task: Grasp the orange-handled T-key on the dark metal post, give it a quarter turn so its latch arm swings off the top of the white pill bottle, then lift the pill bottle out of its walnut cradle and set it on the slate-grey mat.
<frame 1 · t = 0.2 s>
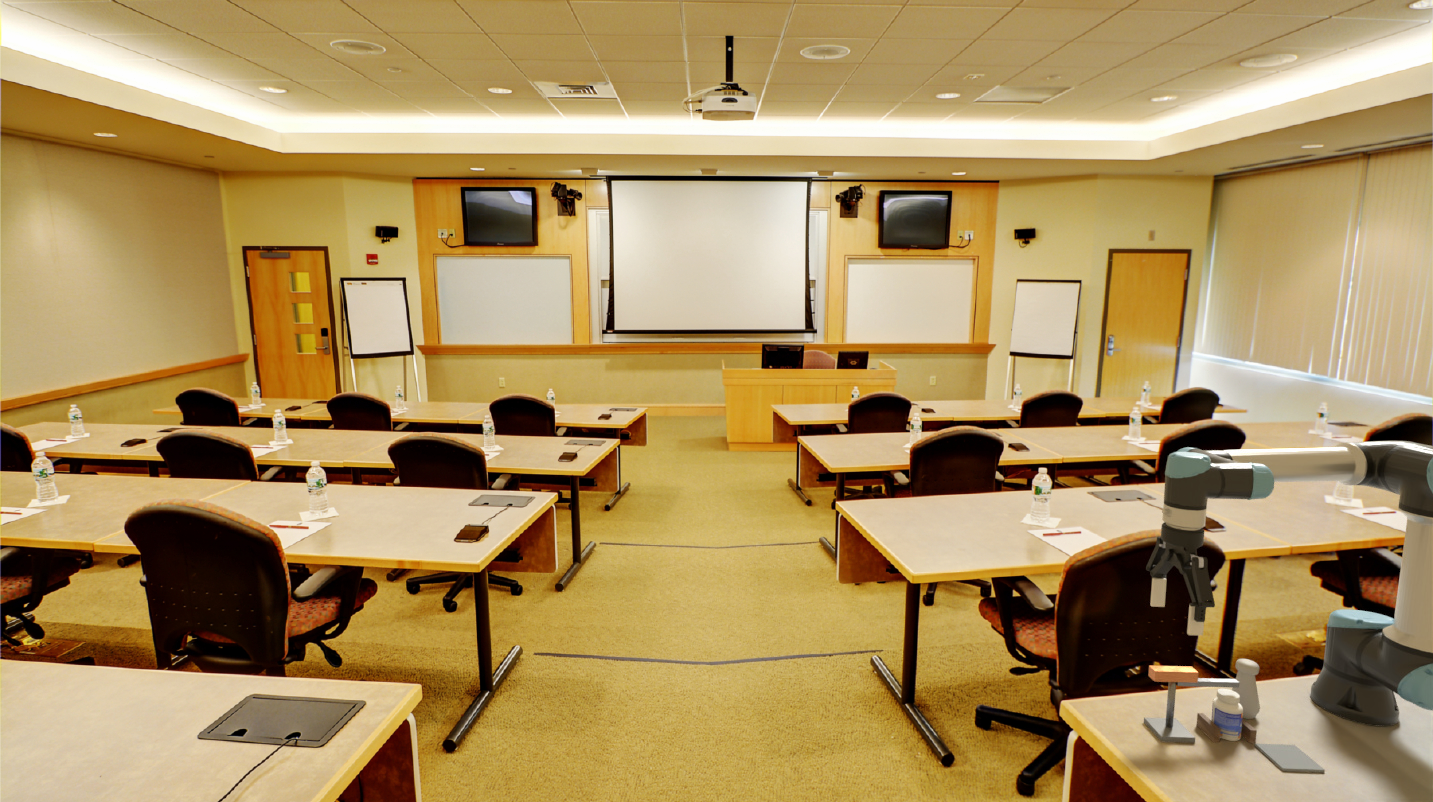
hand: (1175, 619, 146), 27 cm above the table, fingers open, 13 cm apart
pad: (1288, 758, 141), on the table
grey stand base plate: (1168, 732, 151), on the table
cradle: (1225, 733, 150), on the table
salt shaker: (1243, 714, 157), on the table
pill bottle: (1225, 734, 150), on the table
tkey: (1192, 698, 149), point 8 cm above the table, hinge at 0.0°
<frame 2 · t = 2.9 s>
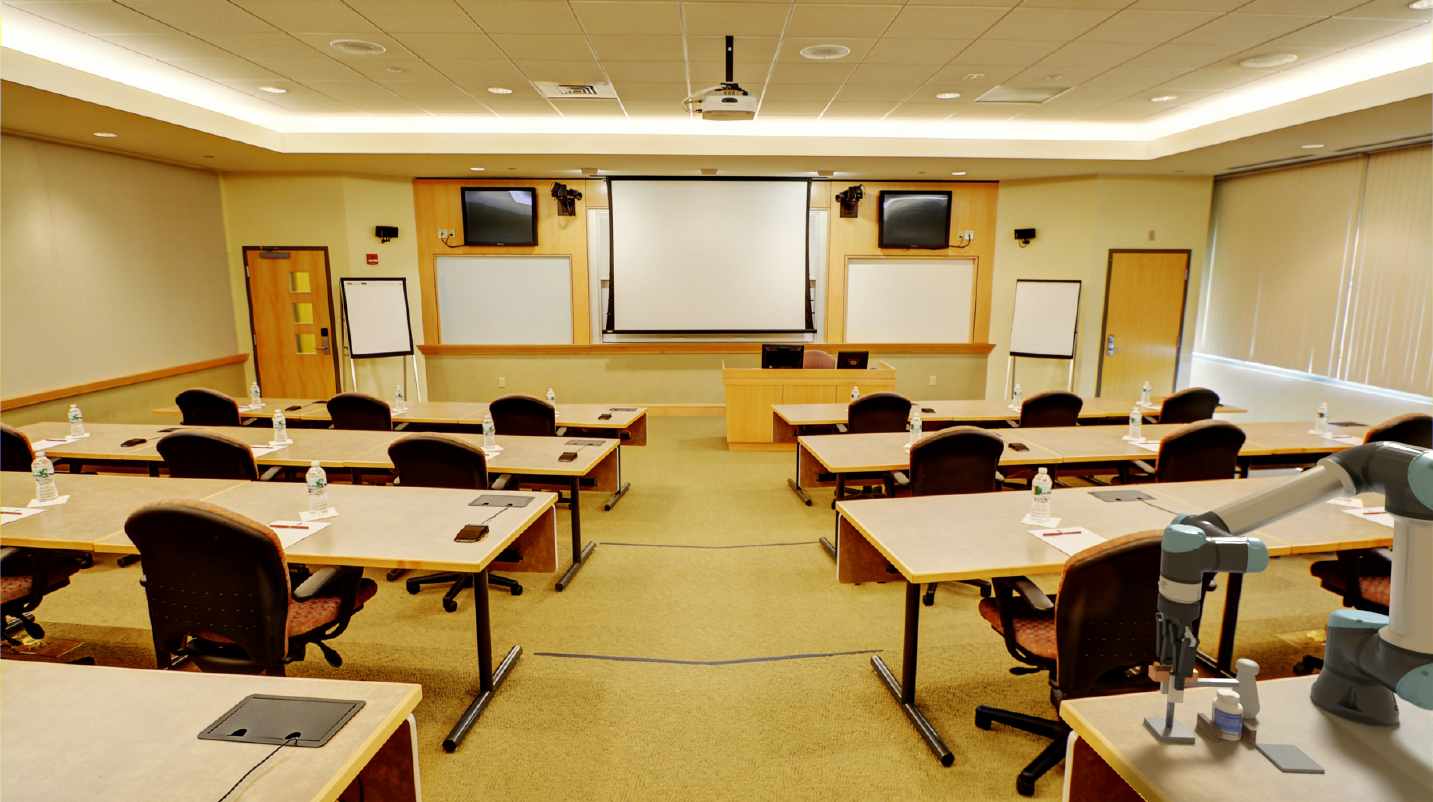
hand: (1171, 696, 150), 8 cm above the table, fingers closed on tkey, 2 cm apart
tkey: (1192, 698, 149), point 8 cm above the table, hinge at -0.1°, touching gripper
everything else where it was.
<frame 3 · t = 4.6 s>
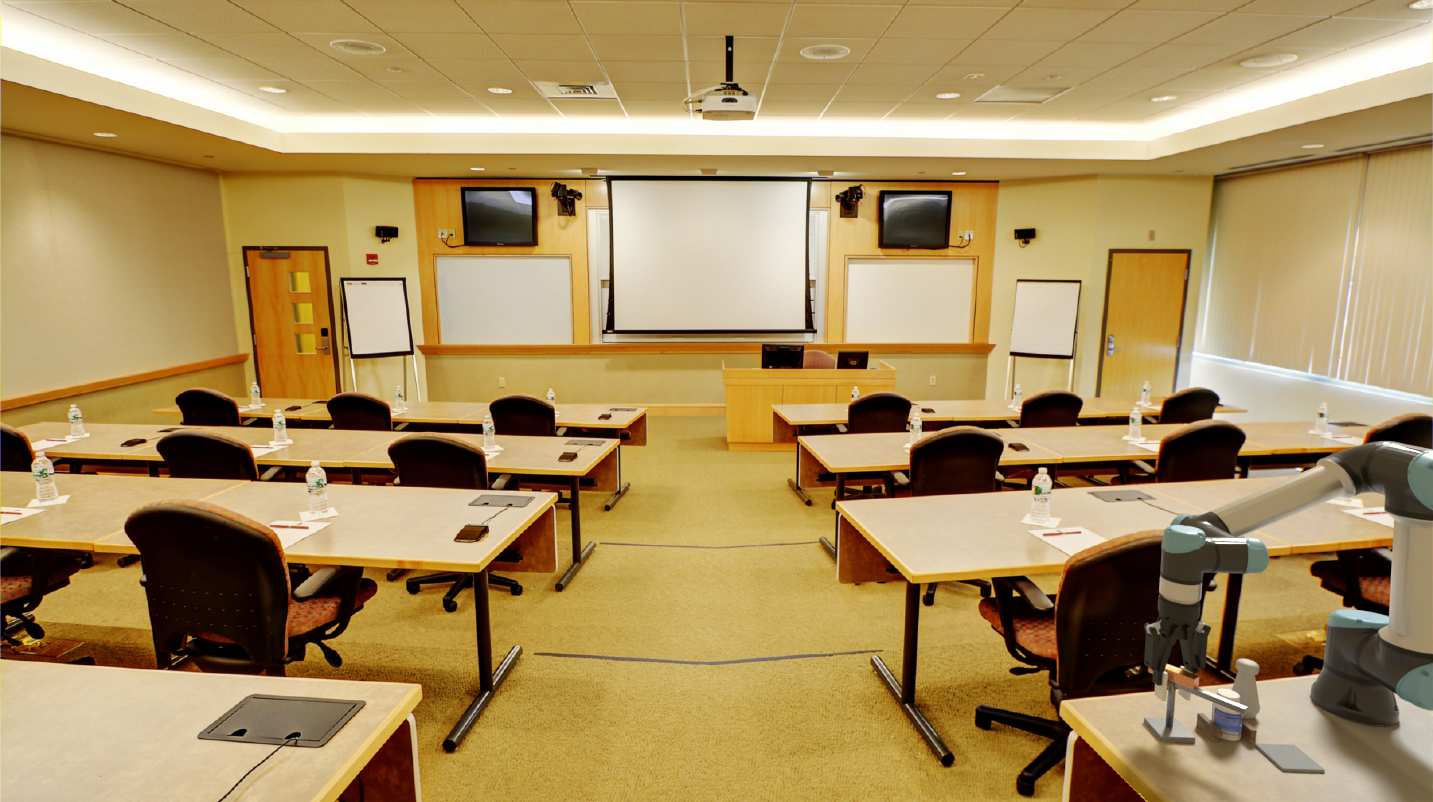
hand: (1172, 696, 149), 8 cm above the table, fingers closed on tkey, 5 cm apart
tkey: (1194, 707, 146), point 8 cm above the table, hinge at -52.0°, touching gripper
everything else where it was.
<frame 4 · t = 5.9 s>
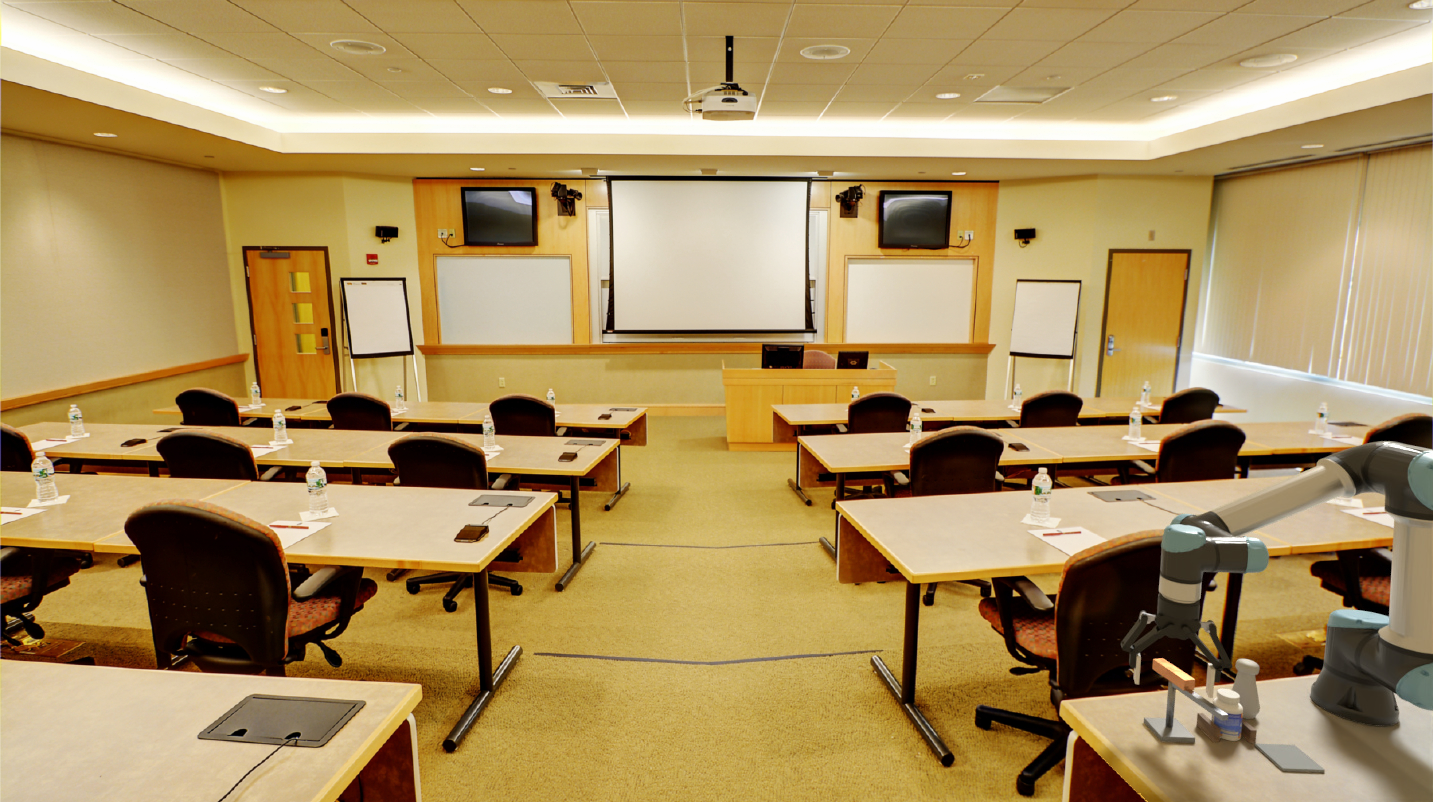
hand: (1172, 687, 149), 11 cm above the table, fingers open, 13 cm apart
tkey: (1187, 709, 145), point 8 cm above the table, hinge at -78.8°
everything else where it was.
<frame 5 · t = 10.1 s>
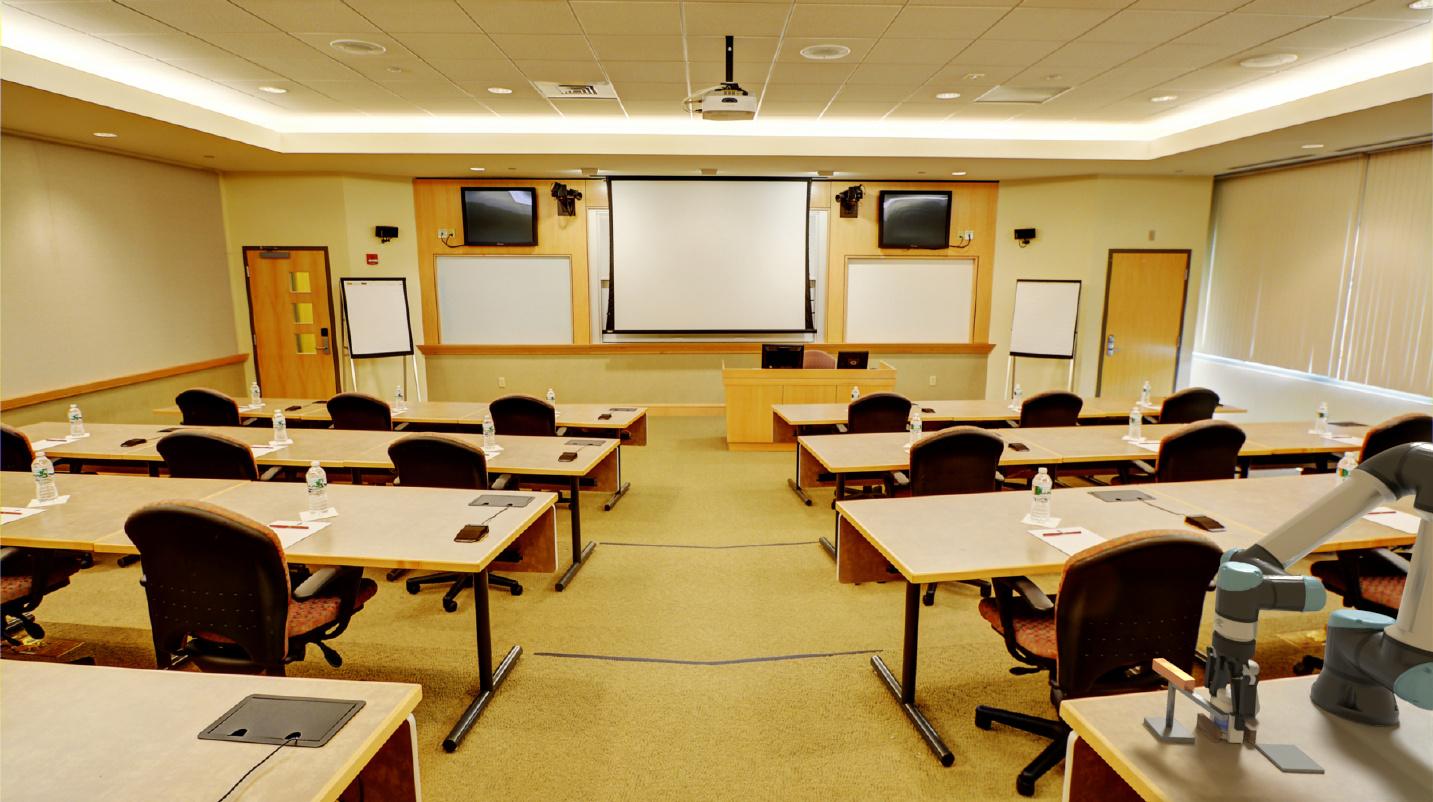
hand: (1225, 732, 150), 0 cm above the table, fingers closed on pill bottle, 5 cm apart
pill bottle: (1225, 734, 150), on the table, touching gripper
everything else where it was.
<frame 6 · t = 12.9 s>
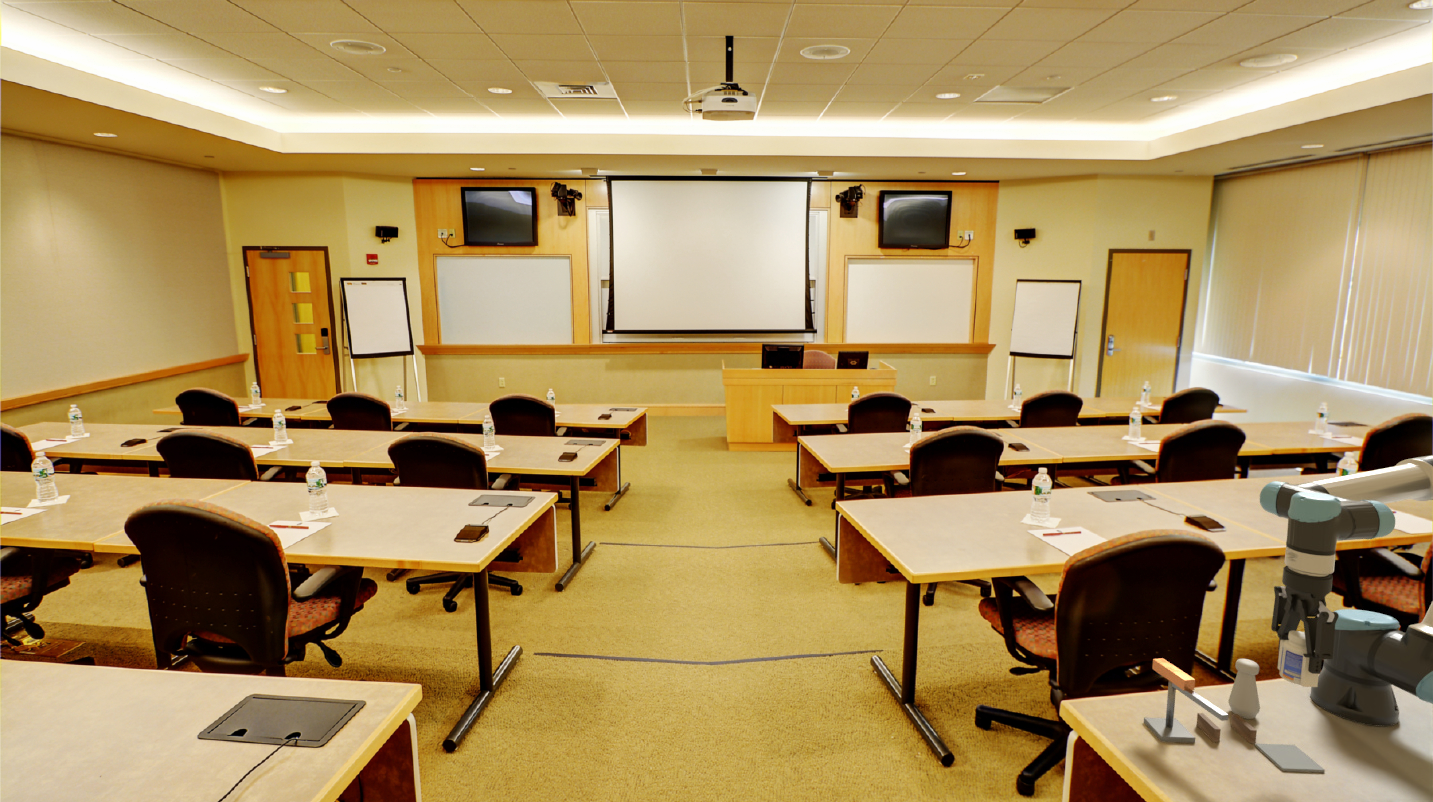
hand: (1296, 677, 139), 18 cm above the table, fingers closed on pill bottle, 5 cm apart
pill bottle: (1295, 679, 139), point 18 cm above the table, touching gripper
everything else where it was.
when the fingers open (2 cm above the table, at t = 16.0 s): pill bottle stays where it is, resting on pad.
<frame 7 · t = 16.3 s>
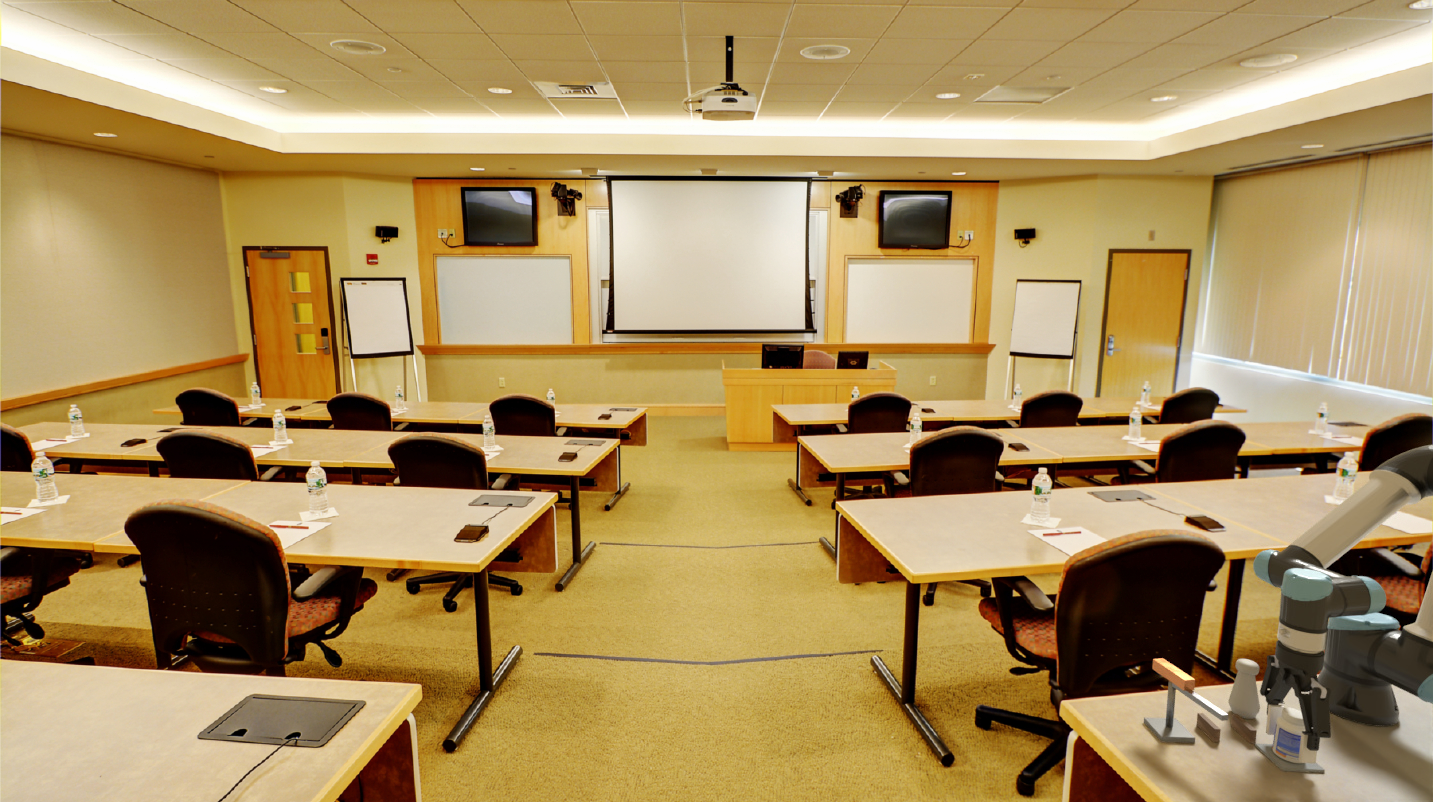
hand: (1289, 747, 141), 3 cm above the table, fingers open, 8 cm apart
pill bottle: (1287, 756, 141), point 1 cm above the table, touching pad
everything else where it was.
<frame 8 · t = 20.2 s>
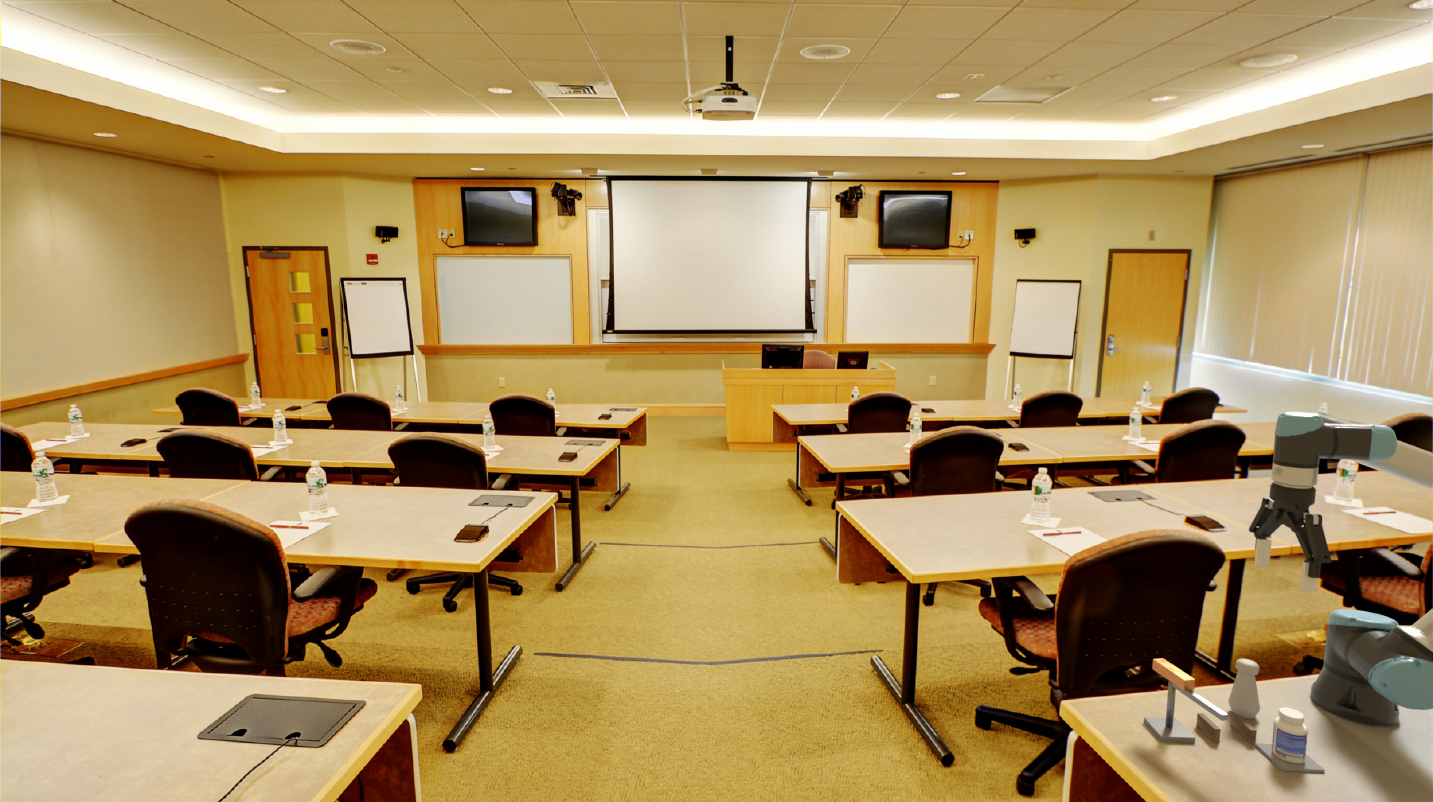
hand: (1283, 578, 148), 35 cm above the table, fingers open, 13 cm apart
nothing on the table moved.
at the end: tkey at -79° (first picture: +0°); pill bottle 0.2 cm from the pad (horizontally); pill bottle tilted 0° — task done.
